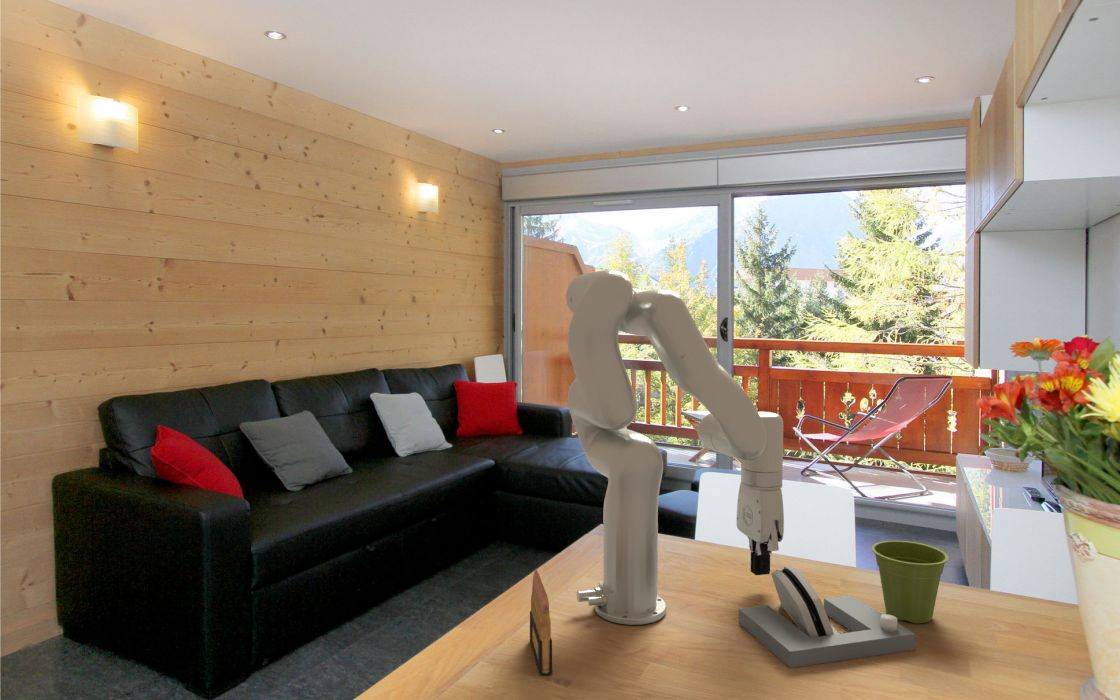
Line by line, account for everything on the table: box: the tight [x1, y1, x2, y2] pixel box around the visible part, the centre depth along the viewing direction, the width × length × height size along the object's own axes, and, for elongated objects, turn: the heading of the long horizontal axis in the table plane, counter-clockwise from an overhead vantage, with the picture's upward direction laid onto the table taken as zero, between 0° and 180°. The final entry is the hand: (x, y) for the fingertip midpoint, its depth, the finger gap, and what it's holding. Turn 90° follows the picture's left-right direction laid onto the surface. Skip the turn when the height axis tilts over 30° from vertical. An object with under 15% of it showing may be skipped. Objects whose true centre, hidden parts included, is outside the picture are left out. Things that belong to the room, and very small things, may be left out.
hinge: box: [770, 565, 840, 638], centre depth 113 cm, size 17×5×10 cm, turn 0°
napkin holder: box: [529, 569, 553, 676], centre depth 103 cm, size 11×2×12 cm, turn 10°
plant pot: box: [871, 540, 949, 624], centre depth 117 cm, size 12×12×11 cm
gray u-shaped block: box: [738, 594, 916, 669], centre depth 110 cm, size 22×15×4 cm
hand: (760, 573), depth 128 cm, fingers closed
